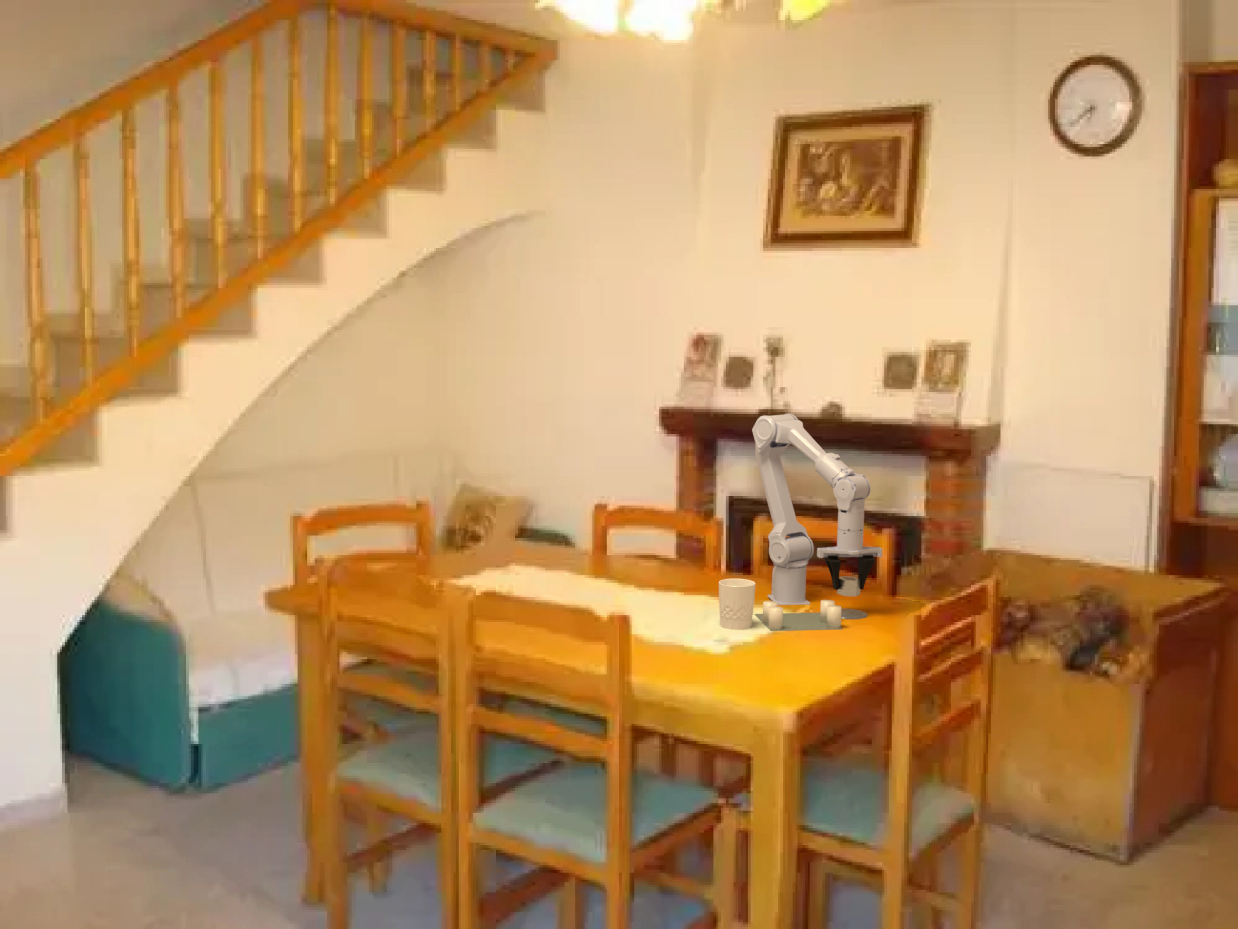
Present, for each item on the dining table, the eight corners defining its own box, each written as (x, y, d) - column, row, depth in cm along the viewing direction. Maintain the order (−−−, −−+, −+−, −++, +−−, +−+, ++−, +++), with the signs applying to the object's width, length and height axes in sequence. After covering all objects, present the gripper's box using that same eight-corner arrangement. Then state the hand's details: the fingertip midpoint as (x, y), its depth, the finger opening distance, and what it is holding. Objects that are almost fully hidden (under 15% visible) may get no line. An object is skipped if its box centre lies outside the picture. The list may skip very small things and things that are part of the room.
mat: (753, 615, 316) (754, 613, 316) (822, 614, 319) (823, 612, 319) (770, 632, 302) (770, 630, 302) (843, 631, 304) (843, 629, 304)
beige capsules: (761, 621, 310) (761, 601, 309) (831, 619, 312) (832, 599, 312) (770, 630, 302) (770, 609, 301) (842, 628, 304) (843, 608, 304)
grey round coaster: (821, 611, 321) (822, 609, 321) (860, 610, 323) (860, 608, 322) (833, 621, 312) (833, 618, 312) (872, 620, 314) (872, 617, 314)
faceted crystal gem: (838, 595, 314) (839, 580, 314) (835, 591, 318) (836, 576, 318) (861, 596, 314) (862, 581, 314) (858, 592, 318) (859, 577, 318)
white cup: (724, 633, 301) (726, 587, 299) (712, 624, 308) (713, 579, 307) (759, 631, 303) (760, 585, 301) (746, 622, 310) (747, 577, 309)
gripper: (824, 532, 310) (822, 593, 312) (887, 531, 312) (885, 592, 314) (815, 526, 317) (813, 586, 318) (877, 526, 319) (874, 585, 321)
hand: (848, 588), depth 317 cm, fingers closed on faceted crystal gem, 5 cm apart
